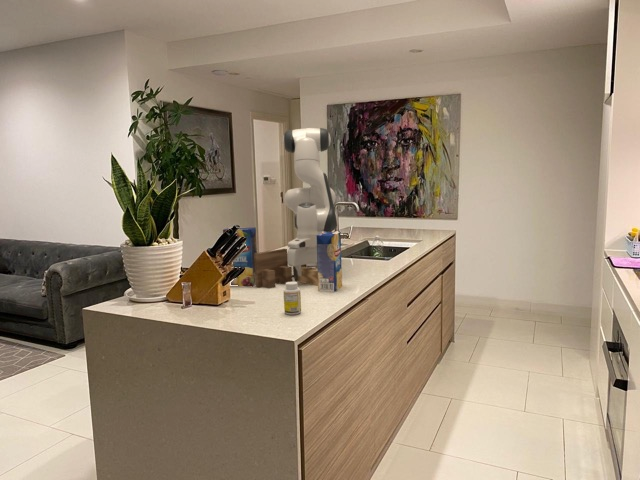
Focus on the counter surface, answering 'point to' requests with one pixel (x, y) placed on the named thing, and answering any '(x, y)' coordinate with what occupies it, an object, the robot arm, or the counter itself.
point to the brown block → (272, 268)
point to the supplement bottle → (292, 298)
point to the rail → (307, 275)
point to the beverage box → (329, 261)
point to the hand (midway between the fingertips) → (309, 273)
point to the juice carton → (246, 257)
